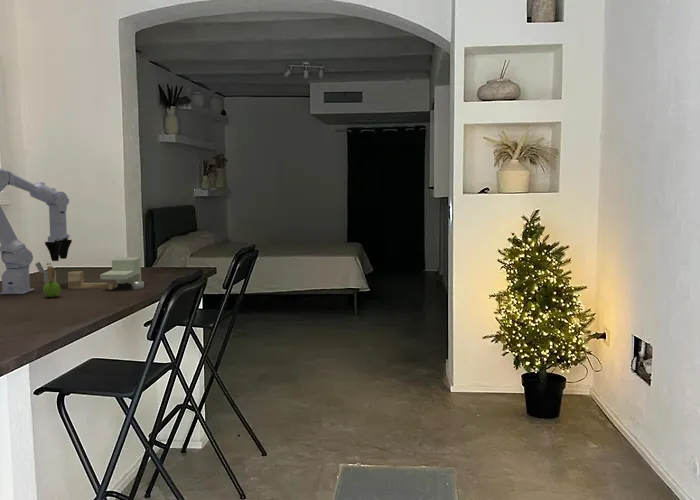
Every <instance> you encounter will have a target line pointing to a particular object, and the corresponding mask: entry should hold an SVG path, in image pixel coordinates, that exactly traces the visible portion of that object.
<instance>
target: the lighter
mask: <svg viewBox="0 0 700 500" xmlns="http://www.w3.org/2000/svg"><path fill="white" fill-rule="evenodd" d="M34 265H35V266H36V268H37V270H38V272H39V273H40V274H42V273H43V283H44V284H46V283H47V282H49V280H48V270H47V269H46V271H45V269H44V268H43V266H42V263H41V262H40V261H38V262H36V263H34ZM54 271H55V276H54V282H57V271H56V270H54Z"/></svg>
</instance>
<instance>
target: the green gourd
mask: <svg viewBox="0 0 700 500" xmlns="http://www.w3.org/2000/svg"><path fill="white" fill-rule="evenodd" d="M51 264H52V263H49V262H47V263H46V265H47V267H46V271H47V270H48V280H49V282H47V283H44V285H43V287H42V292H43V293H44V295H45V297H48V298H54V297H57V296H58V295H59V294H60V293H61V286H60V283H58V281H56V282H54V276H55V271H56V270H55V268H54V267H53V266H51Z"/></svg>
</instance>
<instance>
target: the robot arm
mask: <svg viewBox="0 0 700 500" xmlns="http://www.w3.org/2000/svg"><path fill="white" fill-rule="evenodd" d="M6 186H12V187H15V188H18V189H20V190H22V191H25V192H28V193H29V195H30V197H31V198H34V199H35V200H38V201H40V202H43V203H45V204H46V205H47V206H48V213H49V214H48V217H49V236H47V241H45V242H44V245H45V247H46V248H47V250H48V253H49V255H50V260H51V261H52V262H59V259H60V260H61V259H63V260H67V258H68V253H69V249H70V246H71V244H72V242H73V240H72V239H70V237H71V235H70V234H69V233H68V231H67V210H68V209H67V208H68V205H69V203H70V198H69V197H68V195H67V194H66V193H65V192H64V191H57V189H56V188H55V187H49V186H48V185H46V183H45V182H35V183H32V182H31V181H28V180H27V179H25V178H23V177H22V176H19V175H17V174H15V173H13V172H11V171H8V170H5V169H3V168H0V193H1V192H2V191H3V190H4V189H5V188H6ZM33 258H34V256H33V252H32V251H31V250H30V249H28V248H27V247H26V244H25V243H23V242H22V241H21V240H20V239H18V237H17V235H16V234H15V231H14V229H13V228H12V226H11V222H9V219H8V218H7V216H6V214H5V212H4V210H3V208H2V207H1V205H0V259H1V262H2V263H3V264H4V266H5V271H3V272H2V275H1V287H2V288H1V289H2V290H1V292H0V295H24V294H26V293H30V292H32V291H35V288H30V287H31V286H30V285H31V284H30V265H31V264H32V262H33Z"/></svg>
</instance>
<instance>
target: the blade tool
mask: <svg viewBox="0 0 700 500" xmlns="http://www.w3.org/2000/svg"><path fill="white" fill-rule="evenodd" d="M67 276H68V277H67V278H68V279H67V282H68V284H67V285H68V288H67V289H68V290H81V289H87V290H88V289H90V290H91V289H94V290H95V289H97V290H98V289H100V290H101V289H107V290H113V289H116V288H117V287H118V285H119V284H117V281H113V282H84V271H80V270H78V271H76V270H73V271H69V272H67Z"/></svg>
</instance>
